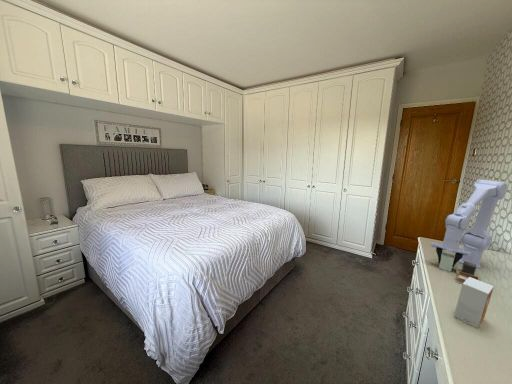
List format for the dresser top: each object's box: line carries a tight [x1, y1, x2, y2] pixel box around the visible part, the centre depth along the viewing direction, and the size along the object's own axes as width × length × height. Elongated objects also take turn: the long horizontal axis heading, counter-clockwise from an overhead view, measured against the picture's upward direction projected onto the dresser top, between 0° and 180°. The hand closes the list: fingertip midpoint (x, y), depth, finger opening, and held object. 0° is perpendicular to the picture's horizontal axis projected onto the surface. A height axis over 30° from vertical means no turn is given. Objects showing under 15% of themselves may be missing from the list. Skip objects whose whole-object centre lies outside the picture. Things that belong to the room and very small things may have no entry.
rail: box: [454, 261, 481, 284], centre depth 98 cm, size 16×8×6 cm, turn 136°
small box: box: [453, 277, 495, 329], centre depth 73 cm, size 8×6×13 cm
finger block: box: [438, 251, 455, 272], centre depth 106 cm, size 6×4×7 cm
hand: (445, 264), depth 106 cm, fingers closed on finger block, 4 cm apart
